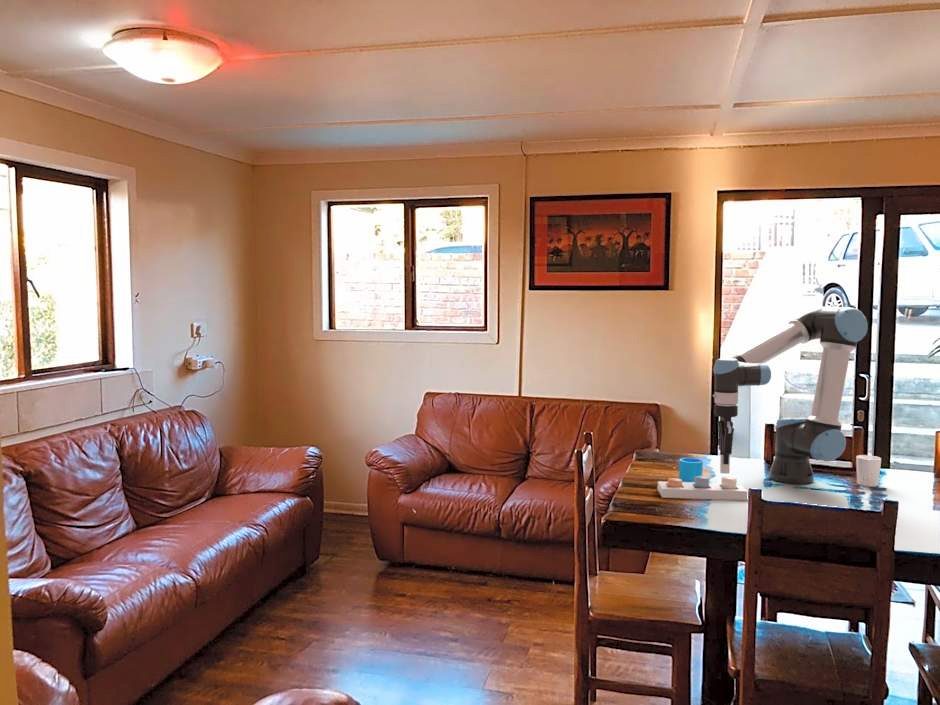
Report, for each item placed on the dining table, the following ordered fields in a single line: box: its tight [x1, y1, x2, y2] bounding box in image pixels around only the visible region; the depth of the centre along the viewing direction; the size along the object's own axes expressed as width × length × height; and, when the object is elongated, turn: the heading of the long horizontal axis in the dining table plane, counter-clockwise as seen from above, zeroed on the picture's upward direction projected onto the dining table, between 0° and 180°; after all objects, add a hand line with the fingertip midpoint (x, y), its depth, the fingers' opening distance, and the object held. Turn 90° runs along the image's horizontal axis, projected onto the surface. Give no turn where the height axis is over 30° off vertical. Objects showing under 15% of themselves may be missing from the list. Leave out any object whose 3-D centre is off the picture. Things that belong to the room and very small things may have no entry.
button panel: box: [657, 480, 748, 501], centre depth 251 cm, size 28×10×3 cm, turn 84°
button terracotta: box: [667, 477, 682, 488], centre depth 252 cm, size 5×5×4 cm
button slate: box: [694, 475, 710, 488], centre depth 251 cm, size 5×5×4 cm
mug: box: [678, 457, 704, 482], centre depth 270 cm, size 12×8×8 cm
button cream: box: [721, 476, 738, 489], centre depth 250 cm, size 5×5×4 cm
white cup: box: [855, 454, 882, 488], centre depth 265 cm, size 8×8×10 cm
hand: (724, 472), depth 250 cm, fingers closed
